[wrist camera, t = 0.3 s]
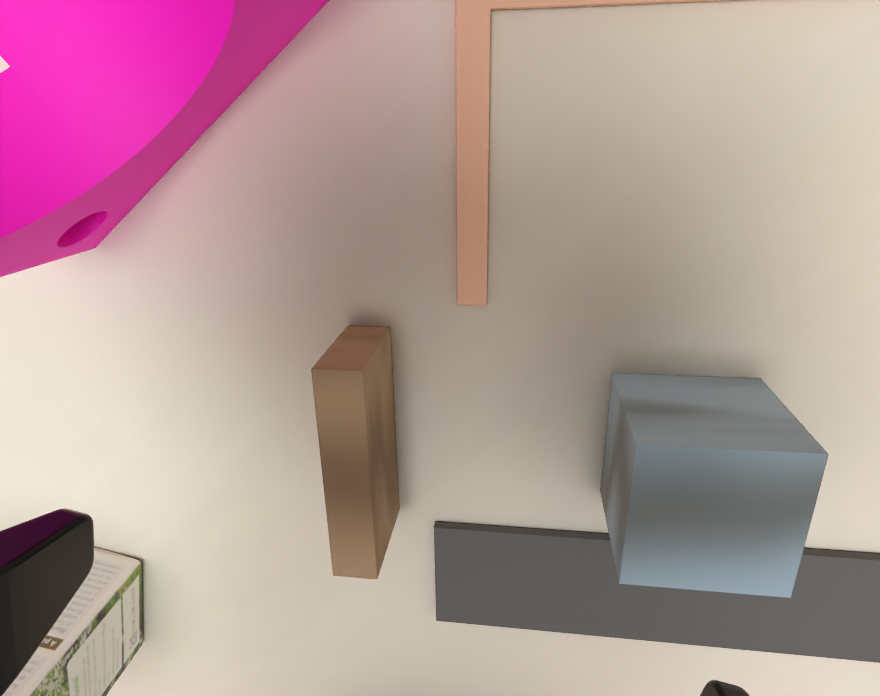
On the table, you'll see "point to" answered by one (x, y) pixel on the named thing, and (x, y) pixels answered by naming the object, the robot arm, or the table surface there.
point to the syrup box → (89, 634)
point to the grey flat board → (650, 595)
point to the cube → (707, 484)
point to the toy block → (114, 105)
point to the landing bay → (484, 131)
